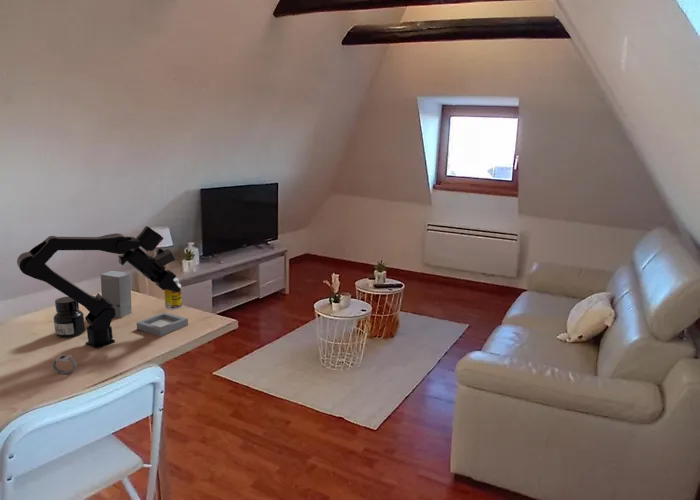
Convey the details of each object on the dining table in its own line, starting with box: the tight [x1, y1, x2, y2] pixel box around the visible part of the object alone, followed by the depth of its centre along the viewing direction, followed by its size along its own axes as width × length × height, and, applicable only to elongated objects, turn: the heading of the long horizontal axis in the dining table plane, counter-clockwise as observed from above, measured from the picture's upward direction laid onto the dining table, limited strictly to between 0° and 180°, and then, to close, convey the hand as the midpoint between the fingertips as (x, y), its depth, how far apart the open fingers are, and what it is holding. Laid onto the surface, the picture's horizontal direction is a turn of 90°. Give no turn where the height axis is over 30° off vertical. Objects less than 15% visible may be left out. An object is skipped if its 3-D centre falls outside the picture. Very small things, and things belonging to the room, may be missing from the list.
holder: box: [136, 311, 189, 337], centre depth 186 cm, size 12×12×2 cm
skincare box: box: [100, 270, 132, 319], centre depth 196 cm, size 8×7×16 cm
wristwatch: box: [52, 354, 77, 375], centre depth 152 cm, size 6×3×5 cm, turn 92°
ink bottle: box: [53, 296, 86, 339], centre depth 179 cm, size 10×9×12 cm
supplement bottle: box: [164, 277, 183, 311], centre depth 184 cm, size 6×6×10 cm
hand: (176, 288), depth 184 cm, fingers closed on supplement bottle, 6 cm apart
